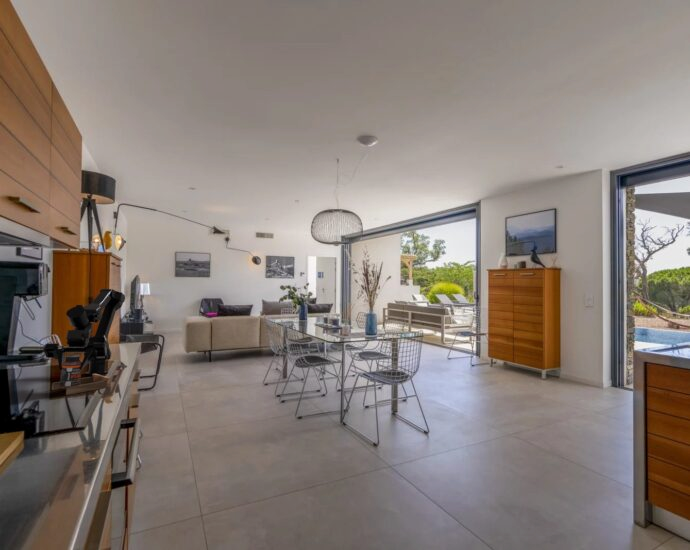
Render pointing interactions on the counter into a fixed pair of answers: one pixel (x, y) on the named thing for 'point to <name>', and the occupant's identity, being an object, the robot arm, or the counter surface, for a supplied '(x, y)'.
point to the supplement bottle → (70, 372)
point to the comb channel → (86, 384)
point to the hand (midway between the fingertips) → (70, 369)
